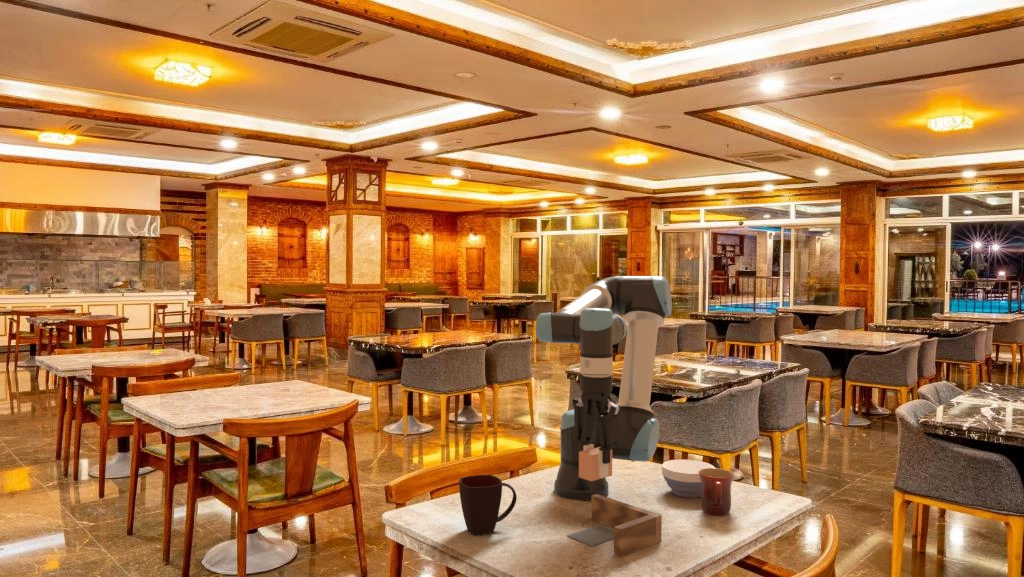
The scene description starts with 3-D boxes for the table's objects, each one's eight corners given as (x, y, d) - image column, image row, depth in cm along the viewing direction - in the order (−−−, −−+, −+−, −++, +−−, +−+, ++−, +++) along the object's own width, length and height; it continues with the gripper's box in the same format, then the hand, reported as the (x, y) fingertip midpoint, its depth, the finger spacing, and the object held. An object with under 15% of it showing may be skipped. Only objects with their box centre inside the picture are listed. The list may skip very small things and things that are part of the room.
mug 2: (697, 505, 187) (697, 467, 187) (731, 508, 185) (732, 469, 185) (700, 521, 175) (700, 480, 175) (736, 524, 174) (737, 482, 173)
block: (599, 471, 169) (599, 446, 169) (612, 475, 166) (612, 450, 166) (578, 477, 165) (579, 451, 165) (591, 481, 162) (591, 455, 162)
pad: (567, 536, 165) (567, 535, 165) (599, 525, 173) (599, 524, 173) (592, 546, 159) (592, 545, 159) (624, 534, 166) (624, 533, 166)
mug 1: (455, 526, 172) (455, 477, 171) (509, 519, 176) (509, 471, 176) (465, 541, 162) (465, 489, 162) (522, 533, 167) (522, 483, 167)
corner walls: (556, 531, 169) (556, 506, 169) (596, 517, 178) (597, 494, 178) (620, 556, 154) (621, 529, 153) (661, 541, 163) (661, 515, 162)
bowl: (706, 505, 188) (706, 476, 187) (654, 495, 195) (654, 468, 195) (721, 490, 200) (721, 464, 200) (671, 482, 208) (672, 456, 207)
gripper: (558, 372, 169) (558, 469, 170) (613, 380, 156) (612, 486, 157) (581, 369, 174) (580, 464, 175) (635, 377, 161) (634, 479, 161)
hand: (595, 474), depth 166 cm, fingers closed on block, 4 cm apart
